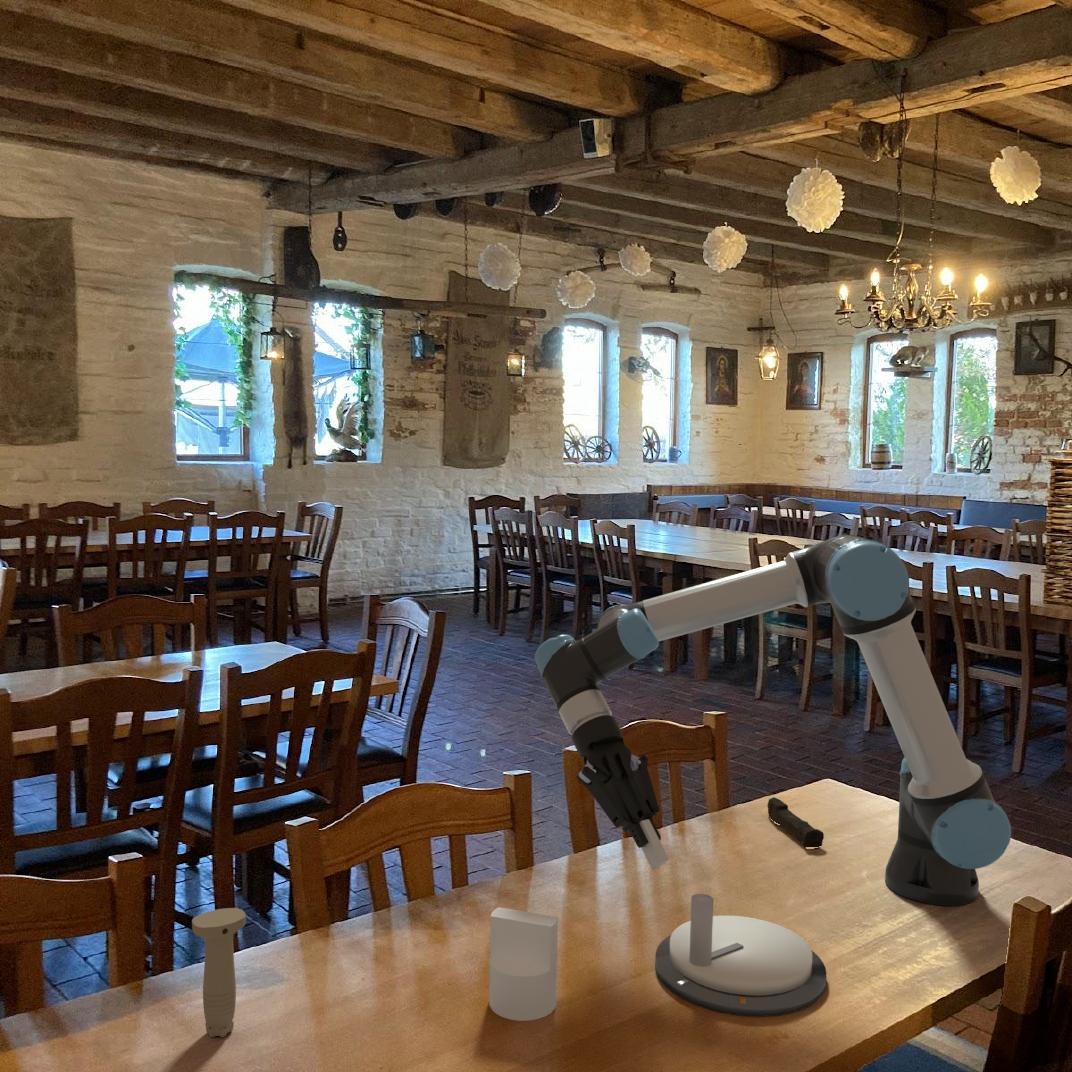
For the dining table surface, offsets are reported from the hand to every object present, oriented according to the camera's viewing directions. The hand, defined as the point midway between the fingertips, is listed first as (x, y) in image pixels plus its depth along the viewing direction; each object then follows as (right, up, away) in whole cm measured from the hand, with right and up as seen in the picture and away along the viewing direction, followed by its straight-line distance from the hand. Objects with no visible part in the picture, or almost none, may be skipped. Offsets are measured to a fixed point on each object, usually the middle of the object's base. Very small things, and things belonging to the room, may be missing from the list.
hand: (660, 864), depth 154 cm
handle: (-58, -15, -20) cm, 63 cm away
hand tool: (+31, -11, +54) cm, 64 cm away
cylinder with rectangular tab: (-20, -15, -12) cm, 28 cm away
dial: (+11, -13, -2) cm, 17 cm away
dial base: (+11, -15, -2) cm, 19 cm away
